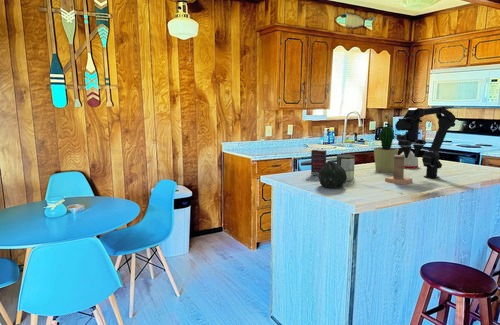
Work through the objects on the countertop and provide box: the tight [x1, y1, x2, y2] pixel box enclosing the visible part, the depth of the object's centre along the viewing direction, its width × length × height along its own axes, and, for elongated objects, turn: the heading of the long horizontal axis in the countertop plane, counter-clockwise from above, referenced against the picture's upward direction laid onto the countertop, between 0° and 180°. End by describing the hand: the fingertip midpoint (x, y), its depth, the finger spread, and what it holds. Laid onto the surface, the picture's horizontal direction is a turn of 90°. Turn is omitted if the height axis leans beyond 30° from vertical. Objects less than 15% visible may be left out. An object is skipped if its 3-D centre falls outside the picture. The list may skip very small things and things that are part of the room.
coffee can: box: [336, 154, 356, 182], centre depth 202 cm, size 10×10×14 cm
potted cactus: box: [373, 125, 400, 173], centre depth 227 cm, size 15×15×30 cm
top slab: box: [384, 175, 413, 185], centre depth 190 cm, size 10×10×2 cm
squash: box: [317, 160, 347, 189], centre depth 184 cm, size 14×15×15 cm
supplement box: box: [310, 149, 327, 177], centre depth 215 cm, size 9×5×16 cm, turn 65°
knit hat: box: [400, 150, 419, 170], centre depth 242 cm, size 14×14×15 cm
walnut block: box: [392, 154, 405, 179], centre depth 189 cm, size 5×5×12 cm
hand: (410, 157), depth 199 cm, fingers open, 9 cm apart
